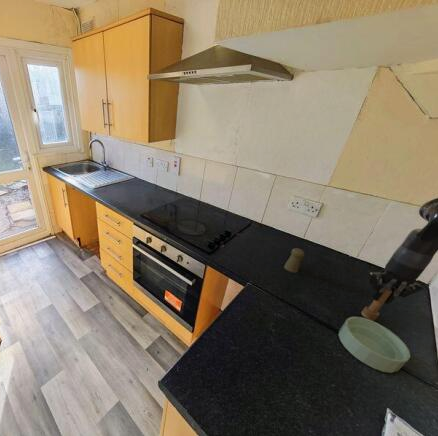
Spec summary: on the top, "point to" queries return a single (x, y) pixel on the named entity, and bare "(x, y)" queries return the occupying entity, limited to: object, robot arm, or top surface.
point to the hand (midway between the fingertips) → (379, 300)
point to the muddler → (375, 306)
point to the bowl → (374, 344)
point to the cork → (294, 260)
